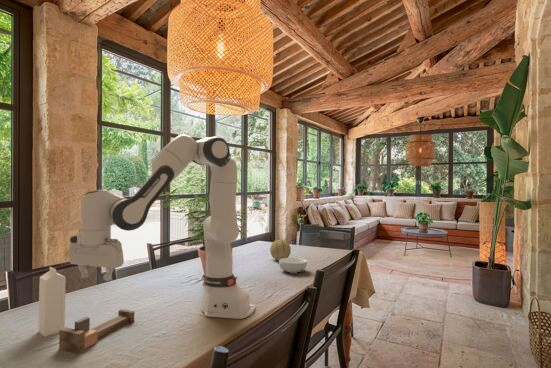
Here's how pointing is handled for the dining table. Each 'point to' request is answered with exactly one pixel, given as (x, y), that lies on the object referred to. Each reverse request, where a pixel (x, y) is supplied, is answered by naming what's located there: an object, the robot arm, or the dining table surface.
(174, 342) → the dining table surface
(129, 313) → the rail
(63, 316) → the milk
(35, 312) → the dining table surface
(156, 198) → the robot arm
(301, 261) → the cereal bowl
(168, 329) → the dining table surface
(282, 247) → the cantaloupe
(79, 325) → the slider
